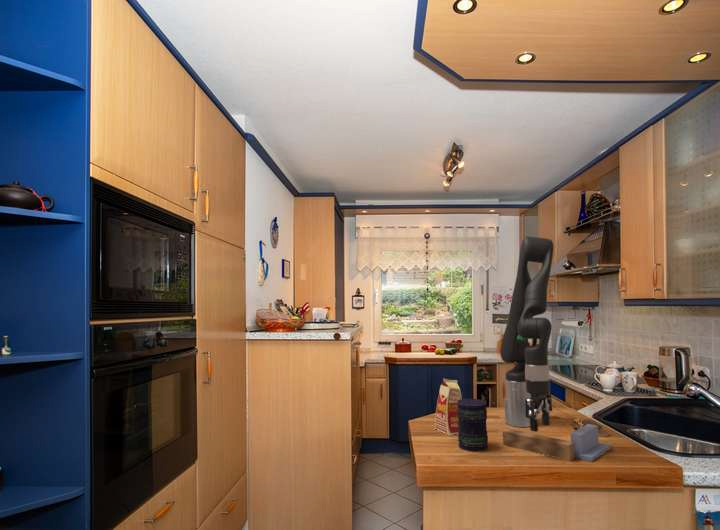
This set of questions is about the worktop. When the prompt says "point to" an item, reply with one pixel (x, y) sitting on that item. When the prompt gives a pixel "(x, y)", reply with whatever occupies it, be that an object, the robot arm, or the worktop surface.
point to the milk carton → (448, 407)
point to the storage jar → (472, 425)
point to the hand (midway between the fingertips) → (540, 428)
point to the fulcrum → (588, 443)
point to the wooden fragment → (600, 431)
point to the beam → (539, 444)
